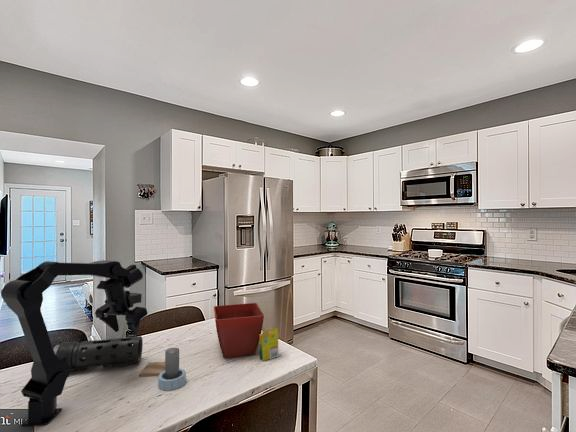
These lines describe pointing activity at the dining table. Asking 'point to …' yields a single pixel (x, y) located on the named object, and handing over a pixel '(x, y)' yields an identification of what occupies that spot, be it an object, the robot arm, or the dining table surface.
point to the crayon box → (268, 344)
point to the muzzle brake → (101, 352)
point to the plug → (172, 363)
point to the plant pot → (238, 328)
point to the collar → (171, 381)
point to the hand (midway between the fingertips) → (126, 332)
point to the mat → (153, 369)
